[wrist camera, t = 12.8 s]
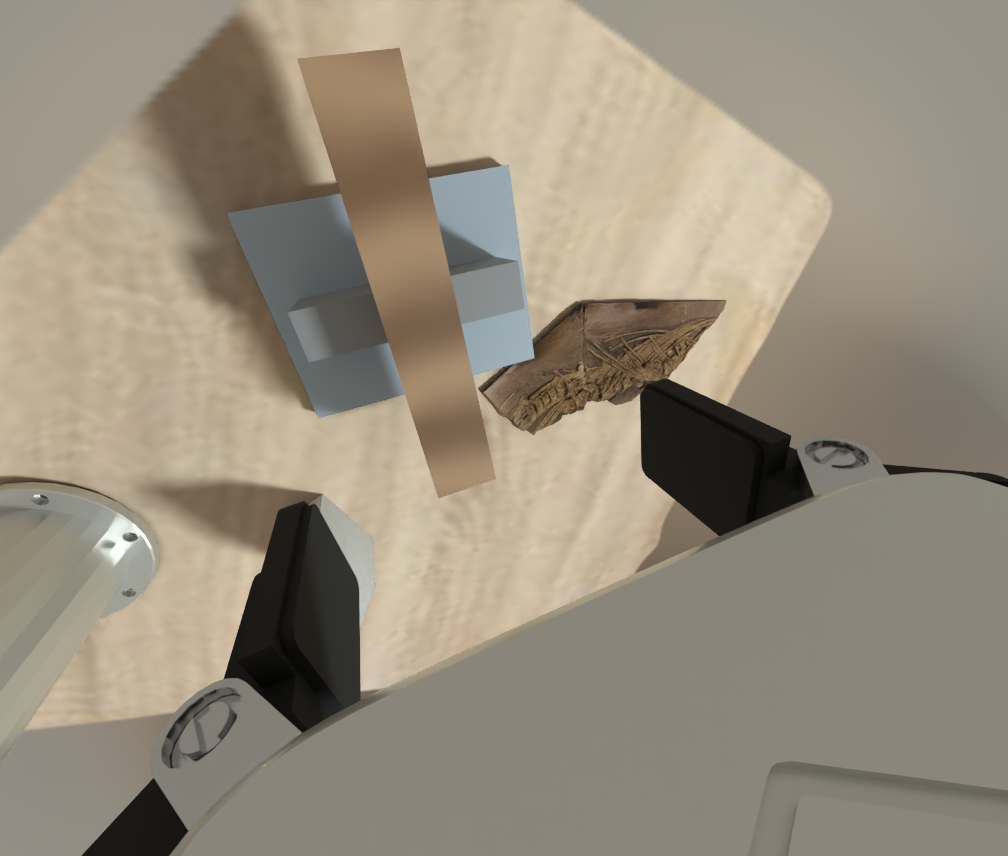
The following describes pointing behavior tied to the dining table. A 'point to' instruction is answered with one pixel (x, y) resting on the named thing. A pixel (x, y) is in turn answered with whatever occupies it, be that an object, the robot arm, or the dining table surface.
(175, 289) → the dining table surface
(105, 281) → the dining table surface
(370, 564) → the grey pointed block
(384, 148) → the walnut bar
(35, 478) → the dining table surface
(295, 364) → the ridge stand
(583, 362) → the wooden fragment
